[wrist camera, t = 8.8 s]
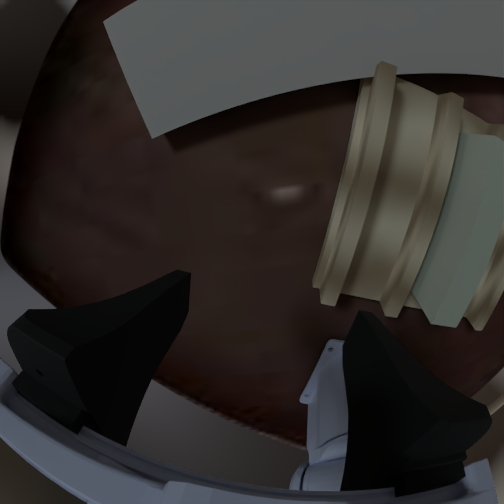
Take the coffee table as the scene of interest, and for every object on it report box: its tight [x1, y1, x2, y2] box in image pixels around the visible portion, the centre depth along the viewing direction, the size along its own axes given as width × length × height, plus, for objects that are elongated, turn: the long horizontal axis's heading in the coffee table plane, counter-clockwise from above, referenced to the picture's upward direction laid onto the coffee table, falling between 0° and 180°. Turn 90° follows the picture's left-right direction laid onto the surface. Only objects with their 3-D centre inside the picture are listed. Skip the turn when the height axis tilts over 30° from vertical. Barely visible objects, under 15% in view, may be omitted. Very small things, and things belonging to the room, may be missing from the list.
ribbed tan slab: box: [312, 61, 504, 331], centre depth 16 cm, size 16×17×3 cm
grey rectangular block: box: [104, 0, 504, 139], centre depth 12 cm, size 34×5×10 cm
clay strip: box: [411, 133, 504, 327], centre depth 14 cm, size 12×2×5 cm, turn 170°
